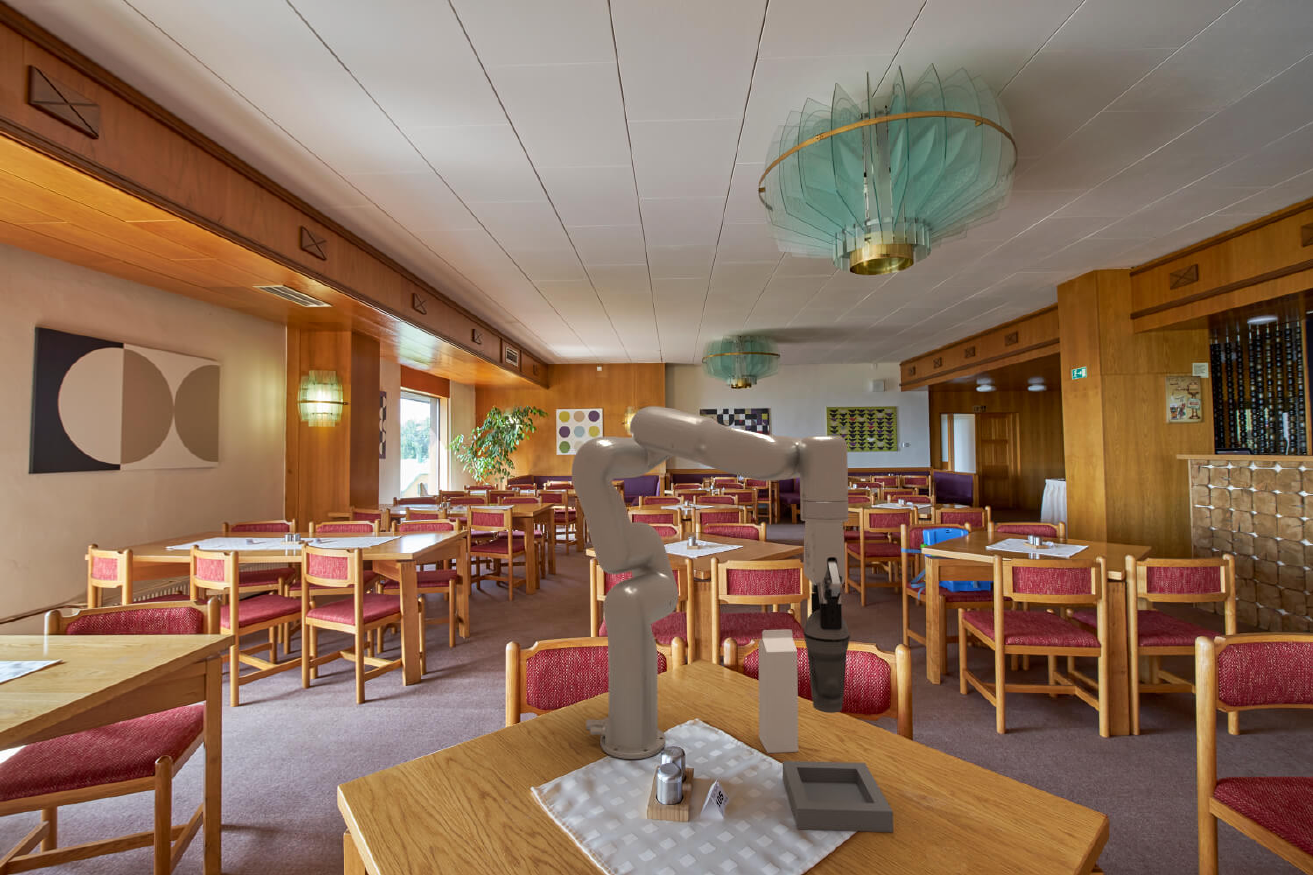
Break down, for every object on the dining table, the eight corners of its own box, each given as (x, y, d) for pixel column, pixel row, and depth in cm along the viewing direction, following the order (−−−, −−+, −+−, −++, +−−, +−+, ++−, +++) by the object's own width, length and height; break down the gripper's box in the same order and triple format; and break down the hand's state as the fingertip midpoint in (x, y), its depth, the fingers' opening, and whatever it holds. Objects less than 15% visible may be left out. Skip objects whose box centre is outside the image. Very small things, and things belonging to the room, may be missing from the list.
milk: (798, 752, 112) (798, 634, 113) (766, 753, 112) (766, 635, 112) (788, 736, 118) (787, 625, 119) (758, 738, 118) (758, 625, 118)
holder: (797, 828, 89) (797, 808, 89) (782, 778, 103) (782, 760, 103) (893, 832, 88) (892, 811, 88) (865, 780, 102) (864, 762, 102)
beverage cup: (841, 720, 91) (839, 588, 92) (796, 708, 96) (794, 583, 96) (857, 704, 97) (855, 580, 97) (815, 694, 101) (813, 575, 102)
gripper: (792, 507, 106) (793, 609, 105) (811, 516, 89) (813, 638, 88) (835, 507, 106) (836, 609, 105) (862, 516, 88) (865, 639, 88)
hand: (826, 621), depth 97 cm, fingers closed on beverage cup, 6 cm apart
